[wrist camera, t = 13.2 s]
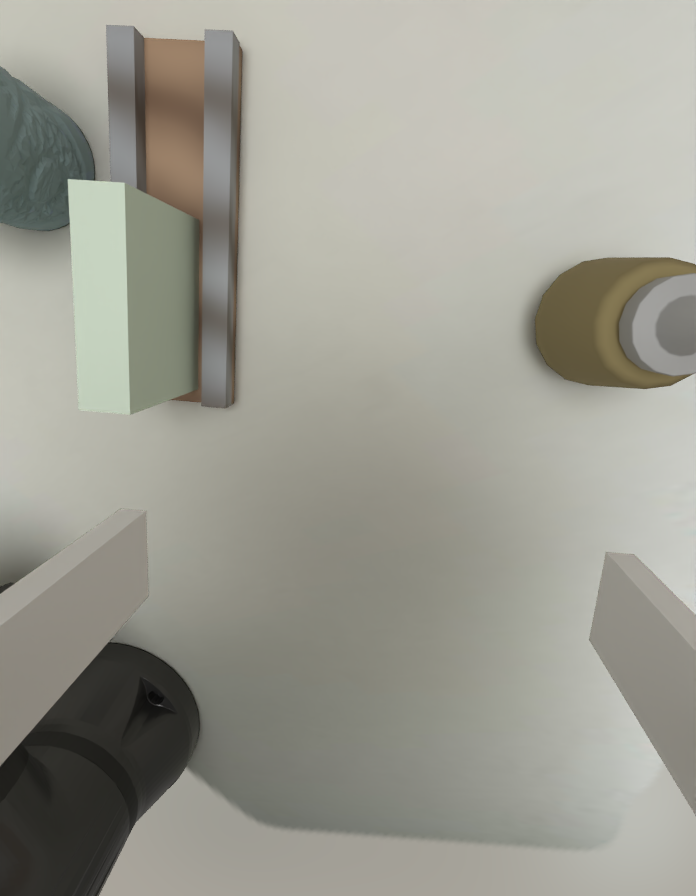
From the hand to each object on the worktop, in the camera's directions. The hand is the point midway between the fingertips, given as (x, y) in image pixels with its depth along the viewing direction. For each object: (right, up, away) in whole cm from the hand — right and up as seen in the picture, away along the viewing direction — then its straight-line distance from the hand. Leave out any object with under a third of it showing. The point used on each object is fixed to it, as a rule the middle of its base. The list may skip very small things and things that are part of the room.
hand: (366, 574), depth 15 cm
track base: (-12, +19, +24) cm, 33 cm away
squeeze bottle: (+16, +13, +23) cm, 31 cm away
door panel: (-13, +14, +24) cm, 31 cm away
